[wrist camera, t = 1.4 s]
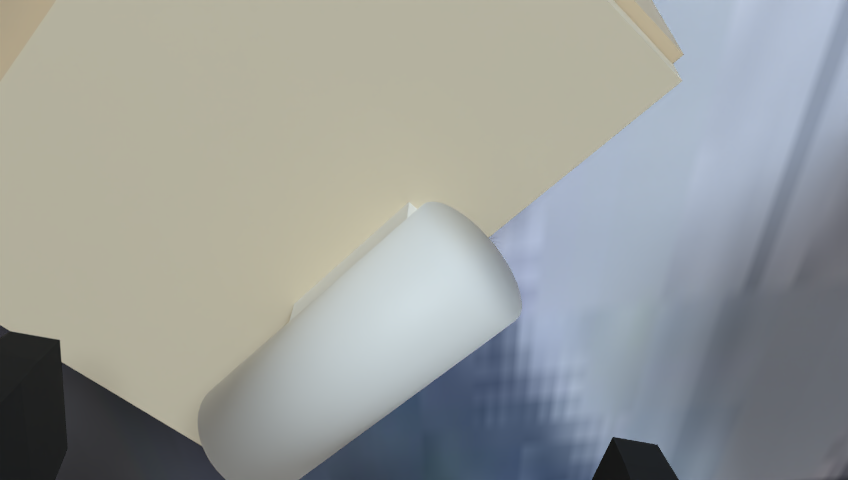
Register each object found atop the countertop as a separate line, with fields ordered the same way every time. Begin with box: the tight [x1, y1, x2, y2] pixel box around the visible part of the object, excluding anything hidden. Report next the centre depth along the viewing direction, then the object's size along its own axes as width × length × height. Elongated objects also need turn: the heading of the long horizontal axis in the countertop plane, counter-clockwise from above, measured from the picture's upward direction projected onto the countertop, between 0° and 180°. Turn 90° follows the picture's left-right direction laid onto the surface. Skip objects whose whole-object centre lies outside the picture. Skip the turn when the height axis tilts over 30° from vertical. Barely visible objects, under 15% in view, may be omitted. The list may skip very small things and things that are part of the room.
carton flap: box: [0, 0, 682, 480], centre depth 12 cm, size 7×12×4 cm, turn 137°
